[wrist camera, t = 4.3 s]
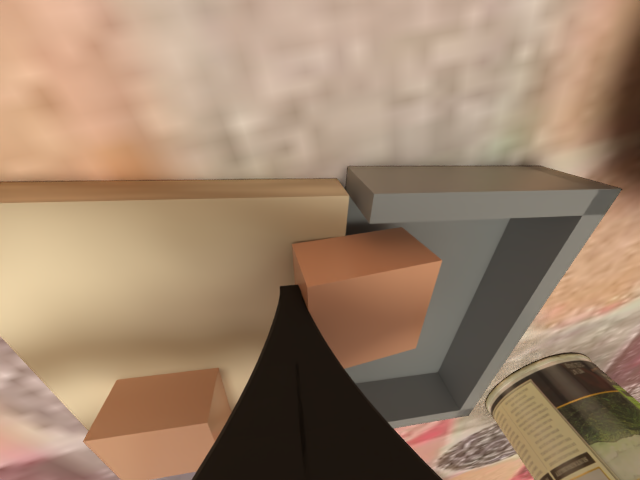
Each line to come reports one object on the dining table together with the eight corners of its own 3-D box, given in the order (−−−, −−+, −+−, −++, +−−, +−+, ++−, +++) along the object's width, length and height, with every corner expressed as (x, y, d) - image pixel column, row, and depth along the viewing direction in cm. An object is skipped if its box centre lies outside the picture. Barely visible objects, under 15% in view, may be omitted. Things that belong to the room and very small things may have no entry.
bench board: (322, 383, 18) (327, 414, 16) (122, 410, 16) (104, 448, 14) (337, 178, 10) (349, 195, 9) (-41, 182, 8) (-121, 205, 7)
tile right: (387, 307, 12) (415, 348, 10) (298, 328, 11) (311, 378, 9) (401, 226, 10) (442, 260, 8) (291, 243, 9) (307, 287, 7)
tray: (441, 370, 20) (468, 415, 17) (327, 386, 18) (336, 438, 16) (540, 165, 12) (622, 188, 9) (347, 166, 10) (373, 193, 7)
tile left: (231, 413, 14) (224, 466, 12) (147, 426, 14) (125, 484, 12) (218, 367, 12) (207, 422, 10) (116, 379, 12) (83, 441, 10)
